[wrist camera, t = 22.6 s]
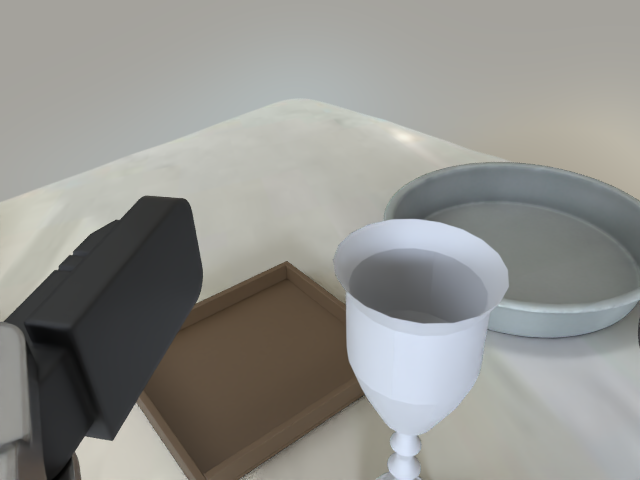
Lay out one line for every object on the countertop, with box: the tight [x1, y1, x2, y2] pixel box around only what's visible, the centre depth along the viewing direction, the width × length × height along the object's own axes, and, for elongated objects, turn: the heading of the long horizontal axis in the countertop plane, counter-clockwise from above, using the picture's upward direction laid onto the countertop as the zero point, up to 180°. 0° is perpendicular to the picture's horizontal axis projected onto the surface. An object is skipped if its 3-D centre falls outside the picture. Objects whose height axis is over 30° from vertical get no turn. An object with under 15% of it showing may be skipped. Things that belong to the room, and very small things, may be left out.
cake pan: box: [384, 162, 640, 338], centre depth 52 cm, size 25×25×4 cm
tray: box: [136, 261, 365, 480], centre depth 43 cm, size 17×15×2 cm
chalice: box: [333, 219, 509, 480], centre depth 28 cm, size 7×7×18 cm
